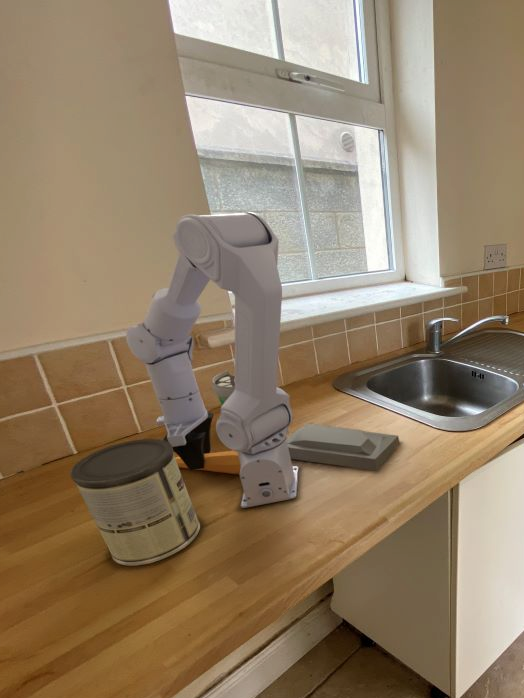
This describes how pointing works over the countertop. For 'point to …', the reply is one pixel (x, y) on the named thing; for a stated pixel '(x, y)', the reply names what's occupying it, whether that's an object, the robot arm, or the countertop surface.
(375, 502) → the countertop surface
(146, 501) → the coffee can
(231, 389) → the food container
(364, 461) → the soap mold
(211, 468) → the carrot
